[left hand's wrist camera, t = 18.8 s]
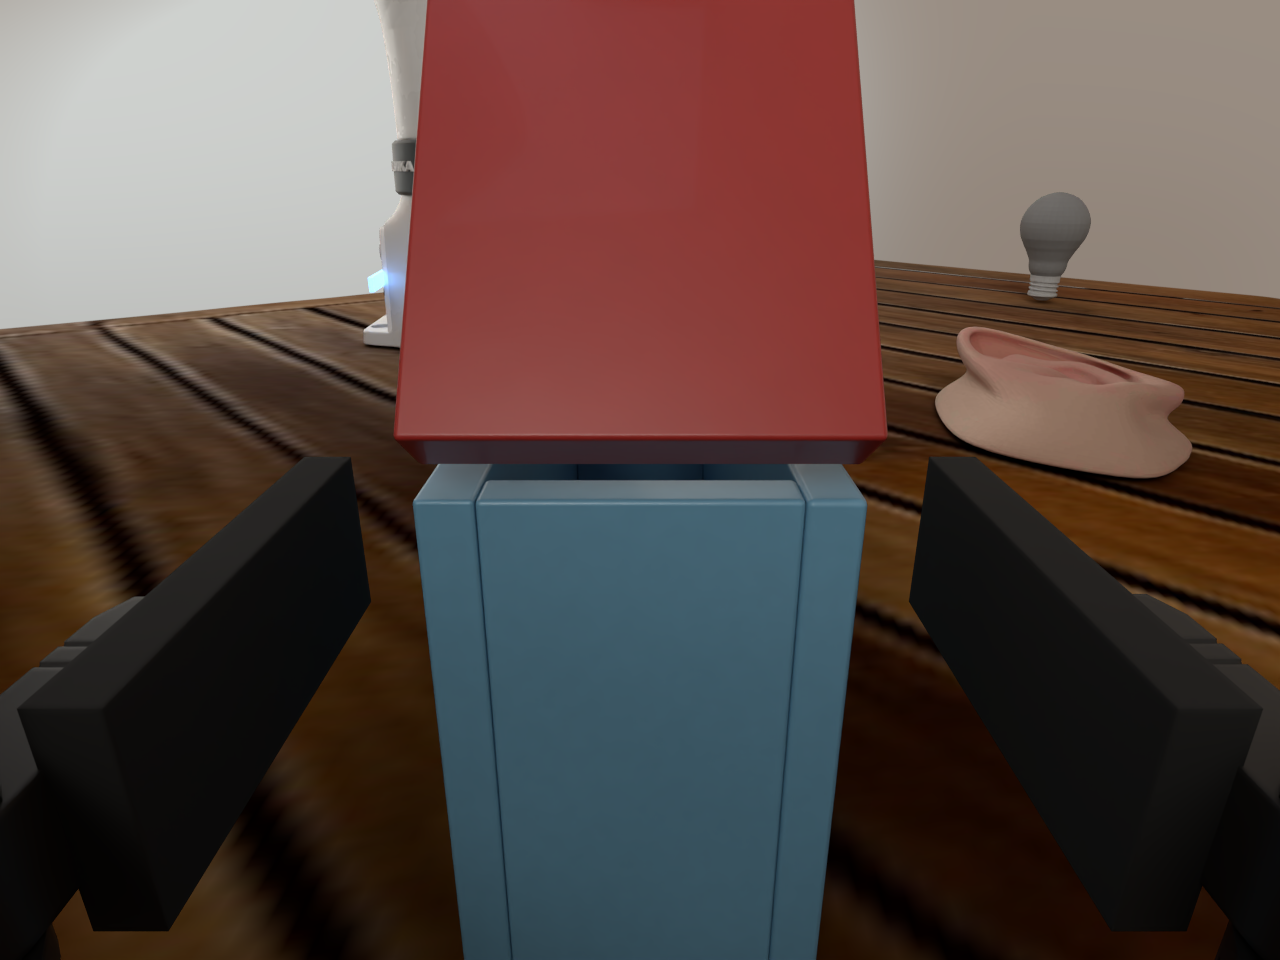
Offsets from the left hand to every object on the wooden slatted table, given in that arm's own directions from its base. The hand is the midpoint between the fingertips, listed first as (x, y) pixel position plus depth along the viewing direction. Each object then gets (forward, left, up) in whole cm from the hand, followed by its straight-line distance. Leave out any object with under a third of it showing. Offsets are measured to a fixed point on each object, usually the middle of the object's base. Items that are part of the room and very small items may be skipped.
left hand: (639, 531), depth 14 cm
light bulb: (-23, +75, -7) cm, 79 cm away
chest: (-3, +3, -7) cm, 8 cm away
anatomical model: (-5, +33, -7) cm, 34 cm away
